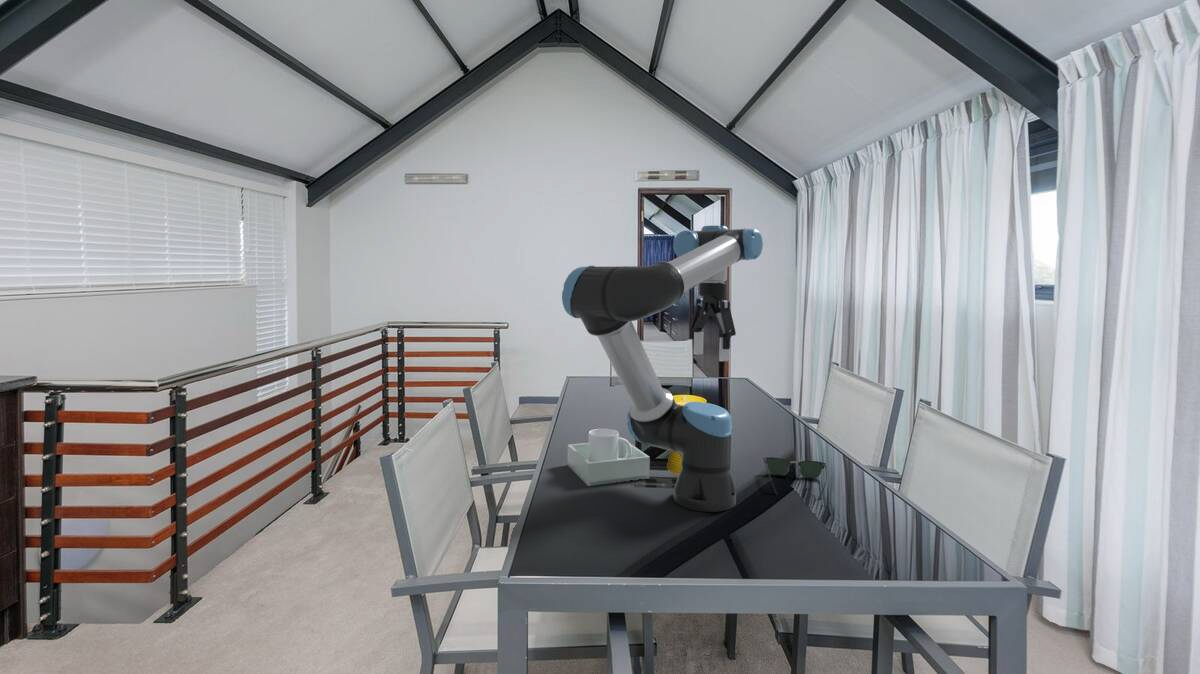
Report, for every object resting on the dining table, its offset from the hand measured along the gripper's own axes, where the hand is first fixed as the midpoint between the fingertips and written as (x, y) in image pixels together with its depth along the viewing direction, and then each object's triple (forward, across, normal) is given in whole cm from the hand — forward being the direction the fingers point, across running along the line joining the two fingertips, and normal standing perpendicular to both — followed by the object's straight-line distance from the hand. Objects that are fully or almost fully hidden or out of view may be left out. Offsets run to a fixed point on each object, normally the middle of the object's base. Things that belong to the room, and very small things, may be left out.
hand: (710, 357), depth 166 cm
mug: (+31, +4, +29) cm, 42 cm away
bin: (+32, +5, +29) cm, 43 cm away
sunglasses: (+32, -21, -14) cm, 41 cm away
